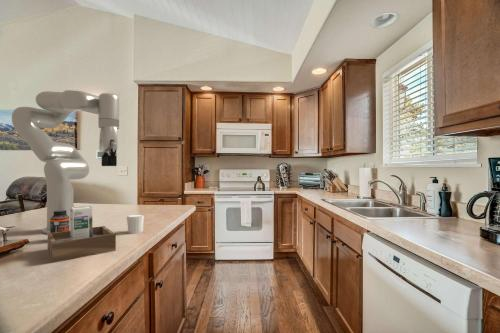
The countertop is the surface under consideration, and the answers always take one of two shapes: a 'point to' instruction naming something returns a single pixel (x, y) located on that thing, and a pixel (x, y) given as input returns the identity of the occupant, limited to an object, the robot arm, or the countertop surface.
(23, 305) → the countertop surface
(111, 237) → the crate
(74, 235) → the syrup box
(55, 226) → the supplement bottle
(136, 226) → the white cup
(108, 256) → the countertop surface
